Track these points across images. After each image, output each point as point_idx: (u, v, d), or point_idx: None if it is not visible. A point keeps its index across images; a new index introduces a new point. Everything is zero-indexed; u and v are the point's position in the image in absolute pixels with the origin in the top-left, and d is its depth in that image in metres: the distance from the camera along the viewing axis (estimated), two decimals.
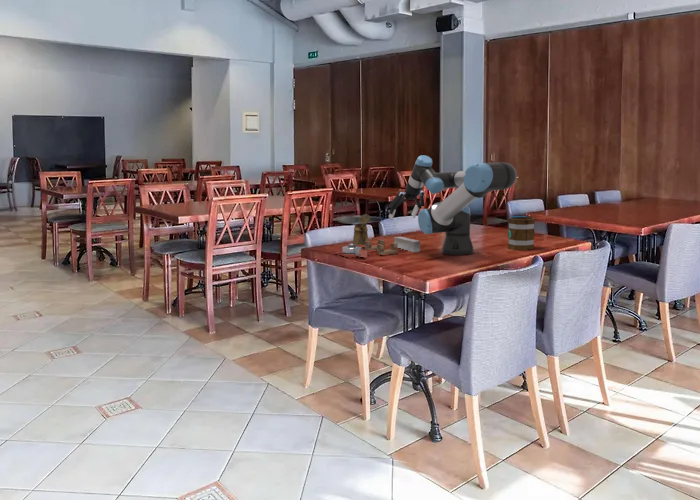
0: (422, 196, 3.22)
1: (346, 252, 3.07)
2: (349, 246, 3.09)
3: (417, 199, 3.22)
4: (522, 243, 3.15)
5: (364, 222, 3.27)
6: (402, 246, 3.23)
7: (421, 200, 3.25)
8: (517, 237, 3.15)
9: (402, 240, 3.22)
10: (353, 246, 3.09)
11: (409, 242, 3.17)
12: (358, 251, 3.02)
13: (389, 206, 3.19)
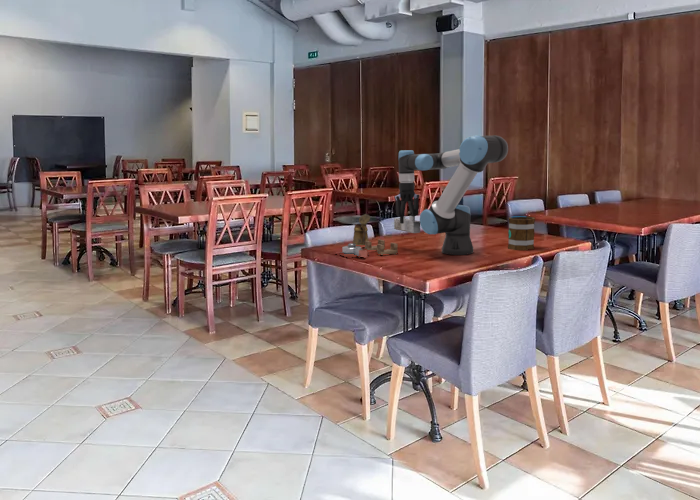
0: (417, 199, 3.20)
1: (346, 252, 3.07)
2: (349, 246, 3.09)
3: None
4: (522, 243, 3.15)
5: (364, 222, 3.27)
6: None
7: (415, 205, 3.21)
8: (517, 237, 3.15)
9: None
10: (353, 246, 3.09)
11: (409, 222, 3.15)
12: (358, 251, 3.02)
13: (397, 214, 3.17)
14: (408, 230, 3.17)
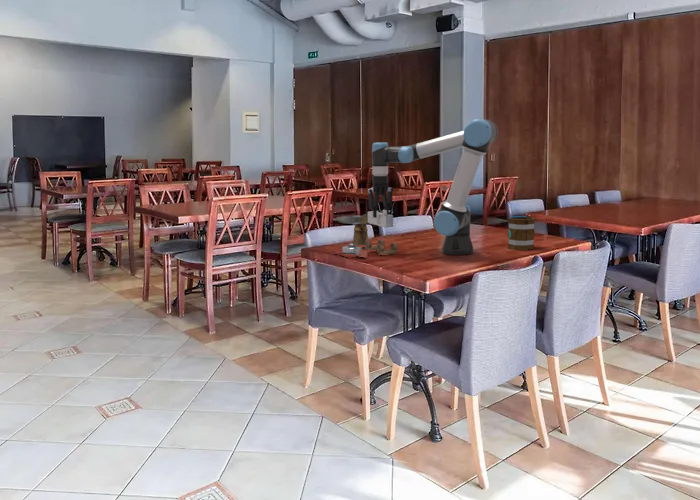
0: (391, 192, 3.13)
1: (346, 252, 3.07)
2: (349, 246, 3.09)
3: (386, 194, 3.11)
4: (522, 243, 3.15)
5: (364, 222, 3.27)
6: None
7: (389, 199, 3.13)
8: (517, 237, 3.15)
9: None
10: (353, 246, 3.09)
11: (382, 216, 3.08)
12: (358, 251, 3.02)
13: (370, 208, 3.10)
14: (381, 224, 3.10)
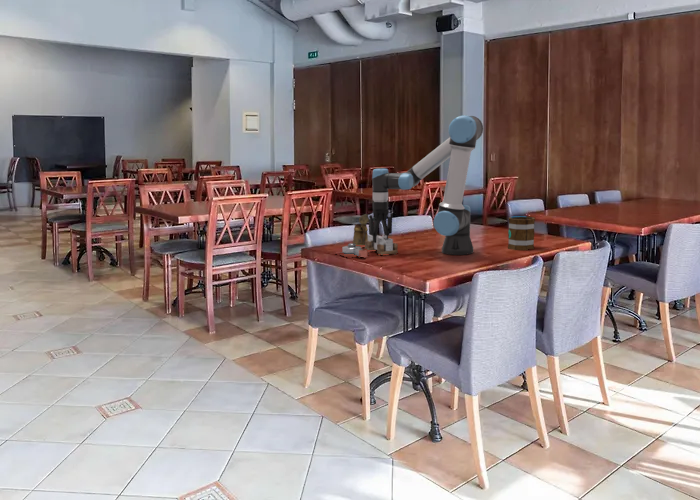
0: (391, 218, 3.15)
1: (346, 252, 3.07)
2: (349, 246, 3.09)
3: (386, 220, 3.13)
4: (522, 243, 3.15)
5: (364, 222, 3.27)
6: None
7: (389, 224, 3.16)
8: (517, 237, 3.15)
9: None
10: (353, 246, 3.09)
11: (382, 240, 3.10)
12: (358, 251, 3.02)
13: (370, 233, 3.12)
14: None
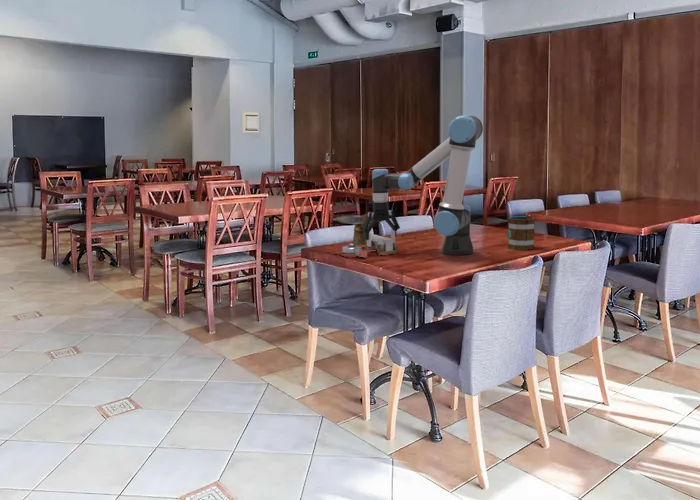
0: (393, 215, 3.15)
1: (346, 252, 3.07)
2: (349, 246, 3.09)
3: None
4: (522, 243, 3.15)
5: (364, 222, 3.27)
6: (375, 245, 3.16)
7: (394, 221, 3.16)
8: (517, 237, 3.15)
9: (375, 238, 3.15)
10: (353, 246, 3.09)
11: (382, 240, 3.10)
12: (358, 251, 3.02)
13: (362, 230, 3.10)
14: None
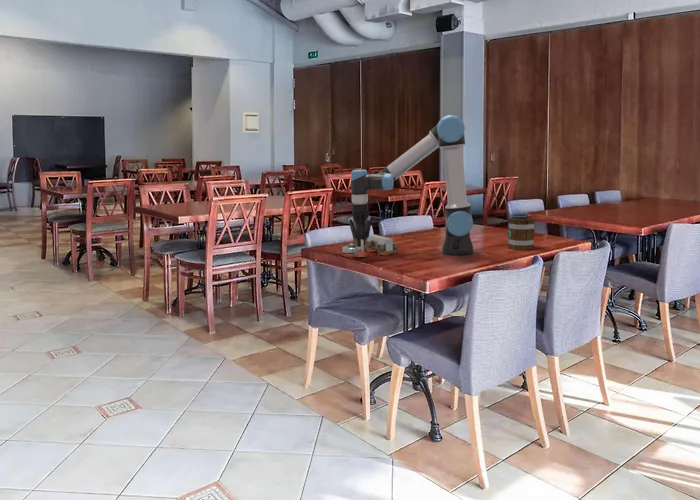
0: (370, 221, 3.04)
1: (345, 252, 3.08)
2: (349, 246, 3.09)
3: (365, 223, 3.02)
4: (522, 243, 3.15)
5: None
6: (375, 245, 3.16)
7: (367, 228, 3.04)
8: (517, 237, 3.15)
9: (375, 238, 3.15)
10: (353, 246, 3.09)
11: (382, 240, 3.10)
12: (355, 251, 3.01)
13: (354, 237, 3.02)
14: None
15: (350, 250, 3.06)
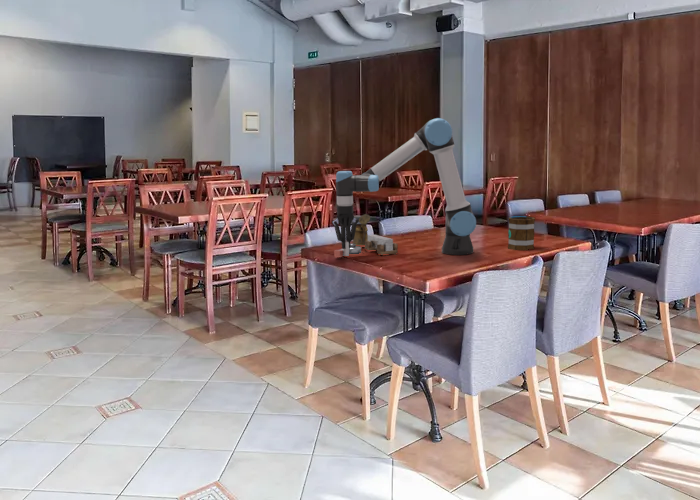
0: (355, 223, 3.00)
1: None
2: None
3: (350, 225, 2.98)
4: (522, 243, 3.15)
5: (364, 222, 3.27)
6: (375, 245, 3.16)
7: (352, 230, 3.01)
8: (517, 237, 3.15)
9: (375, 238, 3.15)
10: None
11: (382, 240, 3.10)
12: None
13: (338, 239, 2.98)
14: None
15: None
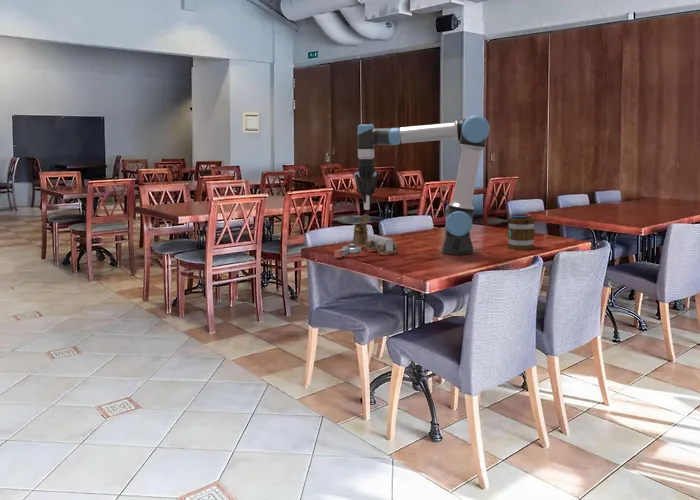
0: (376, 177, 3.01)
1: None
2: None
3: (371, 179, 2.99)
4: (522, 243, 3.15)
5: (364, 222, 3.27)
6: (375, 245, 3.16)
7: (373, 184, 3.01)
8: (517, 237, 3.15)
9: (375, 238, 3.15)
10: (349, 246, 3.09)
11: (382, 240, 3.10)
12: None
13: (359, 192, 2.99)
14: None
15: (343, 249, 3.09)
